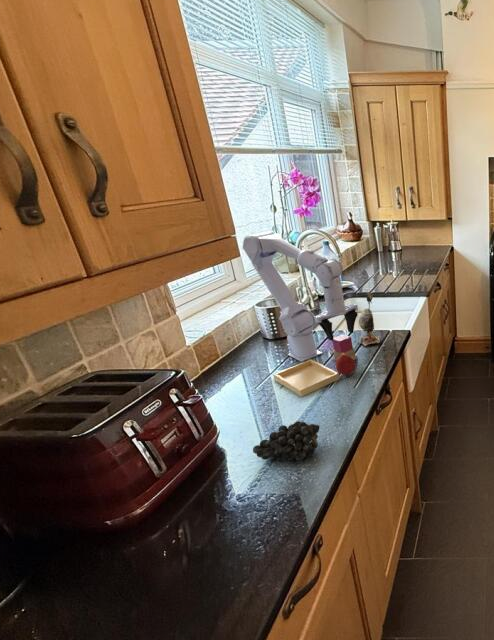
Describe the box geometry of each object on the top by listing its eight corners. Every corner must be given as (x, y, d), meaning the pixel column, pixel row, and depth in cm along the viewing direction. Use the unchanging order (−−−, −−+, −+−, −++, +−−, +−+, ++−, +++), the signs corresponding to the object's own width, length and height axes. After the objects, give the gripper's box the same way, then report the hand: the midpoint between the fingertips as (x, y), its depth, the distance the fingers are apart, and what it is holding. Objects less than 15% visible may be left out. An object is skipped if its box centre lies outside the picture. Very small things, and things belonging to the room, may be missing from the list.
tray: (274, 380, 127) (273, 374, 126) (312, 364, 136) (310, 359, 136) (301, 396, 118) (300, 390, 117) (339, 378, 127) (338, 373, 126)
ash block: (334, 360, 139) (332, 350, 137) (347, 355, 142) (345, 345, 141) (343, 364, 136) (341, 354, 134) (355, 359, 140) (354, 348, 138)
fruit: (240, 432, 87) (311, 425, 89) (259, 421, 96) (324, 414, 97) (244, 471, 88) (315, 463, 89) (263, 456, 96) (327, 449, 97)
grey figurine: (379, 333, 160) (372, 285, 152) (381, 345, 150) (374, 294, 142) (358, 336, 157) (350, 288, 150) (358, 348, 147) (350, 296, 140)
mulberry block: (333, 350, 137) (331, 338, 136) (345, 345, 141) (343, 333, 139) (341, 353, 135) (339, 341, 133) (353, 348, 138) (351, 336, 136)
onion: (359, 371, 131) (356, 349, 128) (352, 380, 126) (348, 357, 123) (342, 370, 132) (338, 348, 129) (334, 379, 126) (330, 357, 123)
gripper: (320, 306, 123) (328, 346, 128) (360, 294, 134) (366, 331, 139) (308, 302, 127) (316, 341, 132) (348, 290, 138) (354, 327, 143)
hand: (341, 335), depth 136 cm, fingers open, 7 cm apart
